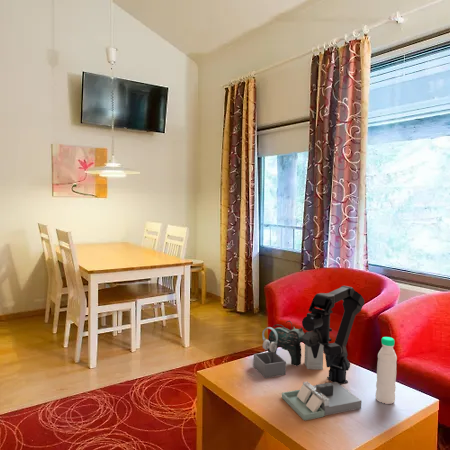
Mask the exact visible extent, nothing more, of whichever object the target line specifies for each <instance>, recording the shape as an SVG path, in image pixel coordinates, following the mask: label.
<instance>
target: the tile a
mask: <svg viewBox="0 0 450 450" xmlns="http://www.w3.org/2000/svg"><path fill="white" fill-rule="evenodd" d="M299 390H300V391H299V392H298V394H297V397H298V398H299V399H300V400H301V401H302V402H303V403H306V402H307V400H308V398H309V396H310V394H311V391H310V390H309V389H308V388H307V387H306V386H304V385H303V384H302V385H301V387H300V388H299Z"/></svg>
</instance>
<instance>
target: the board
mask: <svg viewBox="0 0 450 450" xmlns="http://www.w3.org/2000/svg"><path fill="white" fill-rule="evenodd" d="M330 383H331V384H332V385H333V395H332V396H327V398H328V399H329V406H327V407H324V406H323V405H322V404H321V405H320V407H321V408H322V409H323V410H324V411H325V416H329V415H334V414H340V413H344V412H350V411H354V410H353V409H355V410H359V408H360V409H362V399H360V398H359V397H358V396H356V395H355V394H353V393H352V392H351V391H349V390H348V389H347V388H345V387H344V386H342V385H341V384H339V383H337V382H330ZM316 385H317V384H316ZM316 385H315V384H314V385H313V386H314V387H315V388H316ZM309 398H311V395H310V396H309Z"/></svg>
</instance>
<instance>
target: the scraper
mask: <svg viewBox="0 0 450 450" xmlns="http://www.w3.org/2000/svg"><path fill="white" fill-rule="evenodd" d="M331 383H332V382H331V381H330V382H325V383H324V382H323V383H320V384H316V388H315V387H314V385H313V384H311V383H310V381H308V380H307V381H303V382H302V385H304V386H306V387H307V388H308V389H309V390H310V391H311V394H310V395H311V396H312V395H313V394H314V395H315V396H316V397H318V398H319V399H320V400H321V401H322V405H323V406H324V407H327V406H329V399H328V398H327V396H332V395H333V385H332V384H331Z"/></svg>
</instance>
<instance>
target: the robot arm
mask: <svg viewBox="0 0 450 450" xmlns="http://www.w3.org/2000/svg"><path fill="white" fill-rule="evenodd" d="M340 301H342V306H343V311H344V312H343V315H342V318H341V321H340V324H339V327H338V331H337V332H336V333H337V334H336V338H335V340H334V342H332V340H333V339H332V338H331V337H330V334H331V333H330V332H332V331H333V329H332V327H330V326H331V314H333V312H334V311H333V310H332V309H333V308H334V307H335V305H336V303H339V302H340ZM364 305H365V298H364V297H363V296H362V295H361V294H360V293H359V292H357V291H356V290H355V289H354V288H353V287H352V286H348V285H341V286H340V287H339V288H336V289H334V290H332V291H329V292H326V293H325V292H319V293H316V294H315V295H314V297H313V298H312V300H311V303H310V305H309V307H308V308H309V309H308V310H307V311H308V313H306V316H305V317H303V318H302V320H301V325H302V329H304V330H305V332H304V333H305V334H304V335H303V336H302V339H303V342H302V343H303V344H304V345H305V344H306V345H307V346H308V347H311V350H312V353H313V357H314V358H317V355H318V351H319V347H320V344H322V345H323V346H324V347H323V355H324V356H325V357H324V358H325V363H326V364H325V365H326V368H329V370H328V376H327V378H326V379H328V380H329V381H330V383H332V382H337V383H339V384H340V385H341V384H342V385H343V384H348V382H349V380H347V379H346V378H347V371H349V369H350V368H351V362H350V361H349V359H348V356H349V355H348V350H347V343H348V341H349V338H350V334H351V331H352V328H353V325H354V321H355V318H356V316H357V315H358V314H359V313H360V312H361V311H362V309H363V307H364ZM330 342H331V343H330Z"/></svg>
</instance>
